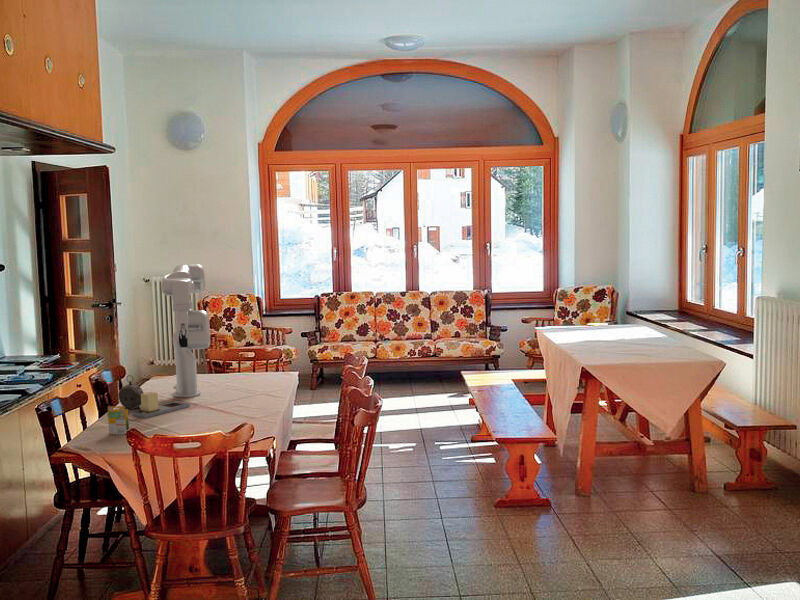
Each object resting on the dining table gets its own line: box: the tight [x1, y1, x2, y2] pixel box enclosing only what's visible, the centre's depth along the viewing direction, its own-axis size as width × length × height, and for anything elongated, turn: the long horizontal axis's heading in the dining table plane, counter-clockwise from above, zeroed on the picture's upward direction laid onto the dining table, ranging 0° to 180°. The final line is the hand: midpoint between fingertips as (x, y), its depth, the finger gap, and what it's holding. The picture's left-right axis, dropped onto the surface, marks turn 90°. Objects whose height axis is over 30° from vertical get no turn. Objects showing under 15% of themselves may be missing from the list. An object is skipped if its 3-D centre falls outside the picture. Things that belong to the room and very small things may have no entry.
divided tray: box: [131, 400, 191, 419], centre depth 376 cm, size 9×24×2 cm, turn 143°
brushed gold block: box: [140, 391, 159, 413], centre depth 371 cm, size 5×5×9 cm
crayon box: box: [107, 405, 130, 435], centre depth 344 cm, size 7×3×12 cm, turn 86°
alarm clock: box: [118, 374, 144, 411], centre depth 381 cm, size 11×5×16 cm, turn 71°
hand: (183, 345), depth 380 cm, fingers open, 9 cm apart
